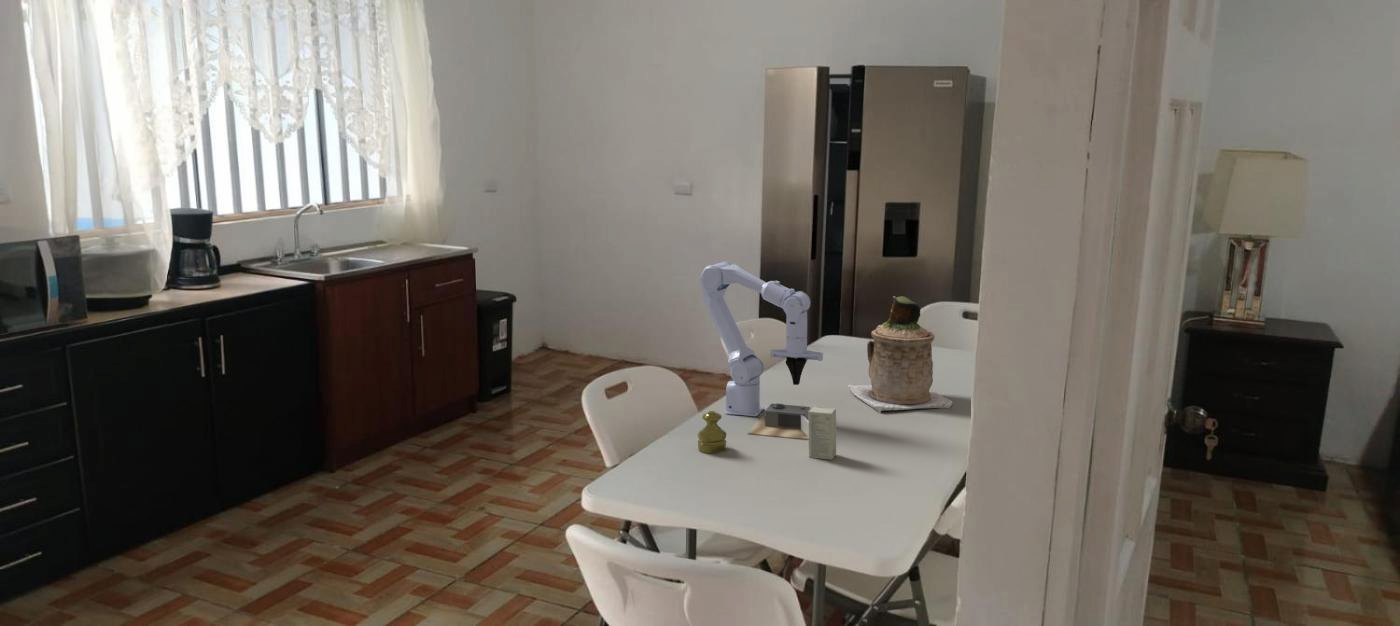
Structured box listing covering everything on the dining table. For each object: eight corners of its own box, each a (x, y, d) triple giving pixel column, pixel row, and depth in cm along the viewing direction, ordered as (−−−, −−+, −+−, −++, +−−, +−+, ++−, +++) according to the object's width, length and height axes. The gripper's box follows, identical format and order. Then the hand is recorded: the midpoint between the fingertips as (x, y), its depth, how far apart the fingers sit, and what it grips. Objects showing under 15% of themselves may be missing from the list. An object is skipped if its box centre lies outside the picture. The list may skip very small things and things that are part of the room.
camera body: (764, 426, 266) (765, 408, 265) (771, 418, 273) (771, 401, 272) (804, 429, 263) (804, 411, 262) (809, 422, 269) (810, 404, 268)
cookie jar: (955, 408, 281) (960, 300, 275) (876, 414, 276) (879, 304, 270) (919, 385, 305) (923, 285, 299) (845, 391, 300) (847, 289, 294)
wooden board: (747, 434, 261) (747, 433, 261) (762, 416, 276) (762, 415, 275) (813, 440, 255) (813, 439, 255) (825, 422, 270) (825, 421, 270)
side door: (814, 437, 256) (814, 422, 255) (808, 437, 255) (808, 423, 255) (806, 428, 263) (806, 414, 262) (800, 428, 263) (800, 414, 262)
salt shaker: (706, 455, 245) (705, 418, 243) (692, 447, 251) (692, 410, 249) (731, 451, 248) (731, 413, 246) (717, 442, 254) (717, 406, 252)
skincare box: (836, 454, 244) (837, 408, 242) (831, 460, 240) (832, 413, 238) (812, 451, 247) (812, 405, 244) (807, 457, 243) (807, 410, 240)
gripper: (767, 337, 266) (767, 385, 269) (819, 341, 262) (819, 389, 264) (773, 332, 273) (773, 379, 275) (824, 335, 268) (824, 382, 271)
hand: (796, 383), depth 270 cm, fingers closed
